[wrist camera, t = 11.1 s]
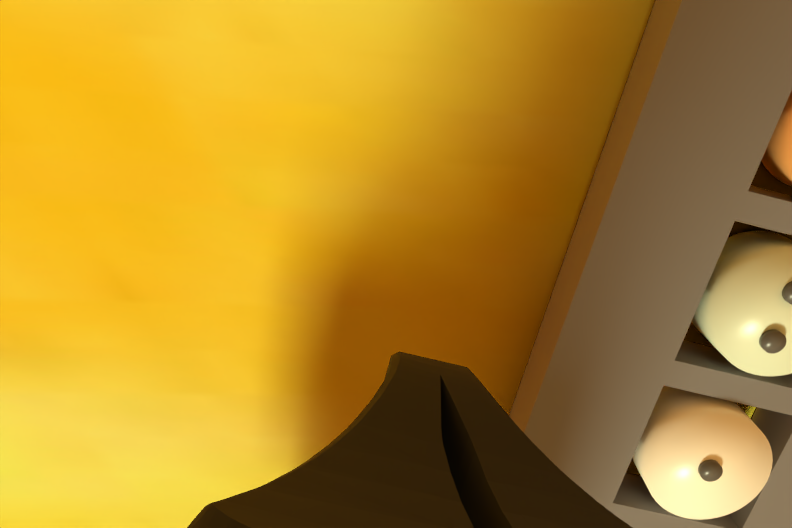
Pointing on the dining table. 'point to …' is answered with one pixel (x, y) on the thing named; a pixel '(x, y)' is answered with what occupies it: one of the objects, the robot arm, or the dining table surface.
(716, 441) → the button one
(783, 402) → the button panel
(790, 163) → the button three
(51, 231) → the dining table surface
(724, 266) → the button two
